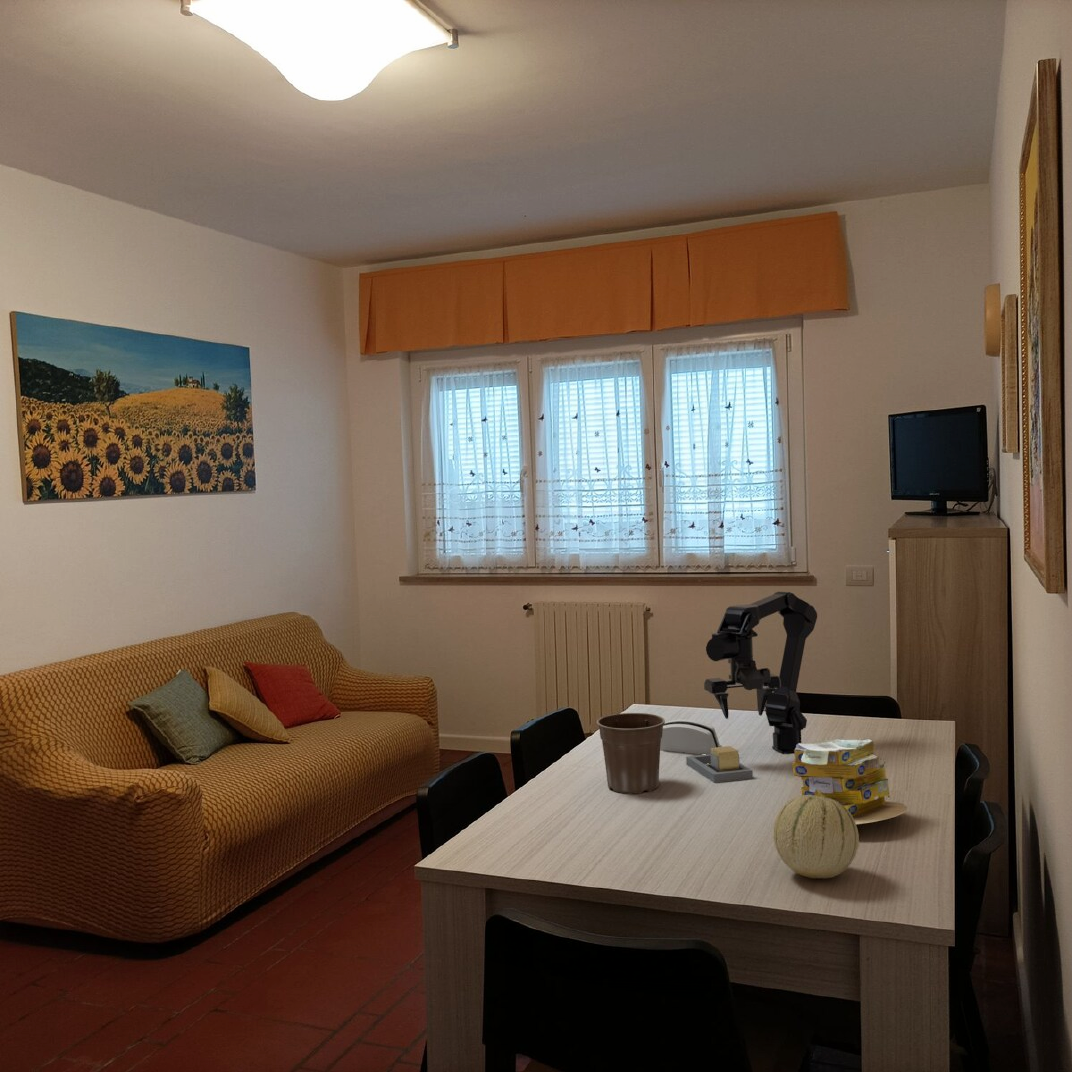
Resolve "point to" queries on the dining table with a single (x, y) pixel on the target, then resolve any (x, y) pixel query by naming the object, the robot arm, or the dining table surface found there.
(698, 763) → the gray rectangular tray
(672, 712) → the dining table surface
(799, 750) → the stacked yellow boxes
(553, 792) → the dining table surface
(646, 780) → the plant pot
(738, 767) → the metal-backed wooden cube
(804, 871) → the cantaloupe
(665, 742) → the grey arched block
